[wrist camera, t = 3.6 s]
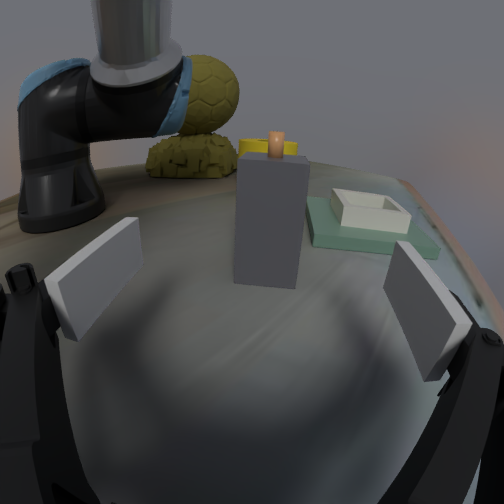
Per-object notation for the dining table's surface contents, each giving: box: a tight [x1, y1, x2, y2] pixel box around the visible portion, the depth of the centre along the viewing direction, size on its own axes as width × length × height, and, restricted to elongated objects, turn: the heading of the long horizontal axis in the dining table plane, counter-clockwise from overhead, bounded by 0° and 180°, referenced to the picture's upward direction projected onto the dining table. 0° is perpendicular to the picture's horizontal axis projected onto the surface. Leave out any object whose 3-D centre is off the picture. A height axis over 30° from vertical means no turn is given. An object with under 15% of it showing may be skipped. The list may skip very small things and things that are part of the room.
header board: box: [306, 188, 441, 260], centre depth 36 cm, size 16×16×4 cm
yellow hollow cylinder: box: [238, 139, 298, 158], centre depth 48 cm, size 10×10×9 cm
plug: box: [234, 131, 310, 289], centre depth 23 cm, size 5×5×12 cm
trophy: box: [145, 55, 239, 178], centre depth 62 cm, size 22×22×30 cm
